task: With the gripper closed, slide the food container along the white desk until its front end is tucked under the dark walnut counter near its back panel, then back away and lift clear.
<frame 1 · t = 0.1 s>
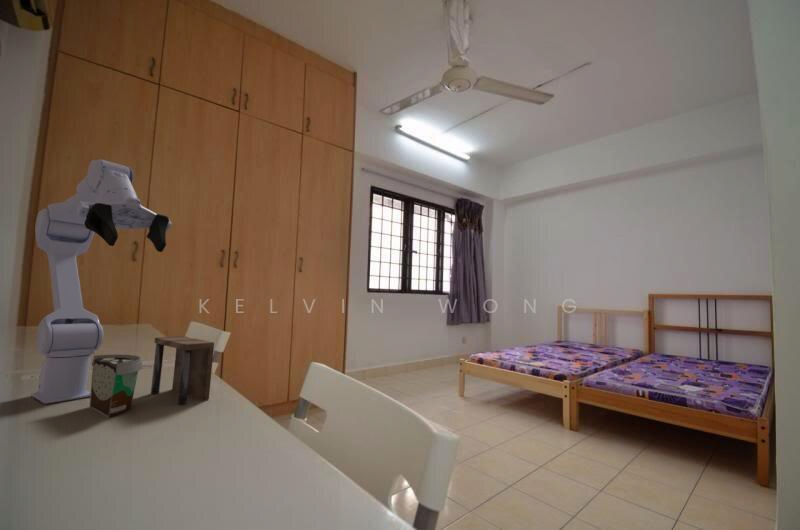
hand: (139, 244, 65), 32 cm above the table, tool tilted 50°, fingers open, 7 cm apart
food container: (117, 409, 72), on the table
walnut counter: (176, 396, 81), on the table
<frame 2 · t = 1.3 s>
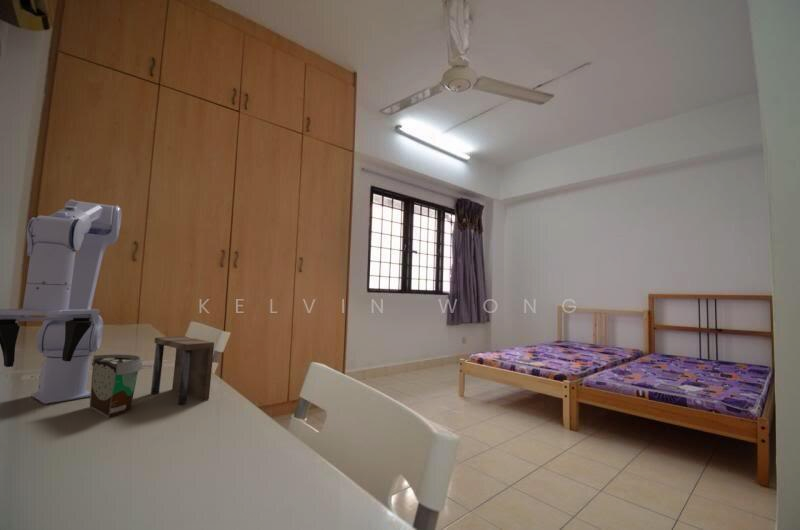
hand: (38, 363, 62), 10 cm above the table, tool pointing down, fingers open, 7 cm apart
nothing on the table moved.
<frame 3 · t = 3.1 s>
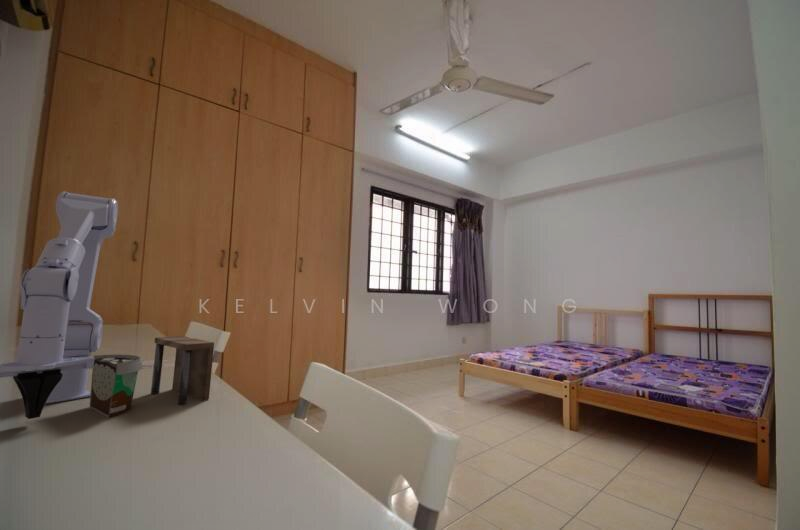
hand: (32, 416, 62), 1 cm above the table, tool pointing down, fingers closed
nothing on the table moved.
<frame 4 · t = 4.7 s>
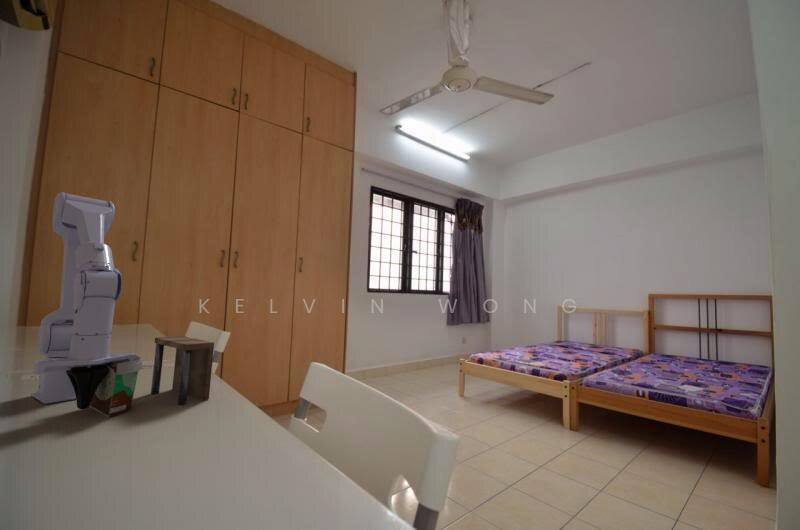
hand: (83, 407, 67), 1 cm above the table, tool pointing down, fingers closed
food container: (117, 409, 72), on the table, touching gripper
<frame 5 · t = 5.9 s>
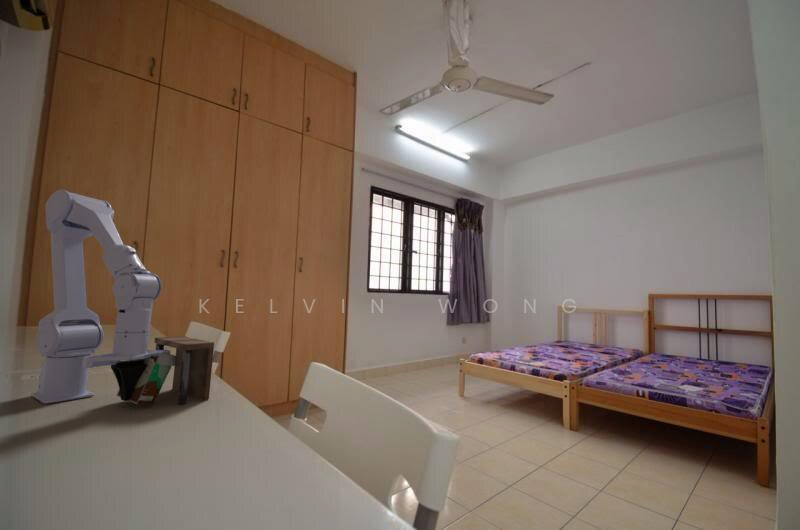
hand: (124, 399, 73), 1 cm above the table, tool pointing down, fingers closed, pressing on food container
food container: (142, 402, 75), on the table, touching gripper
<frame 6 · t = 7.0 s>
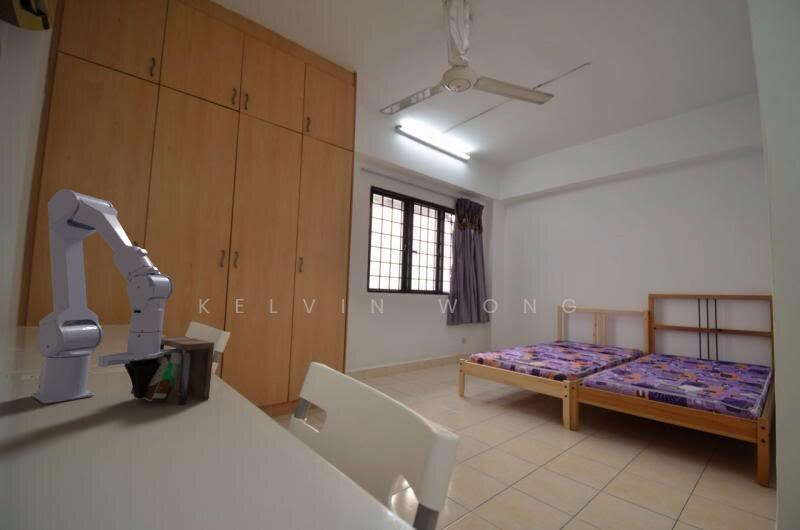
hand: (138, 397, 75), 1 cm above the table, tool pointing down, fingers closed
food container: (155, 399, 77), on the table, touching gripper, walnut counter
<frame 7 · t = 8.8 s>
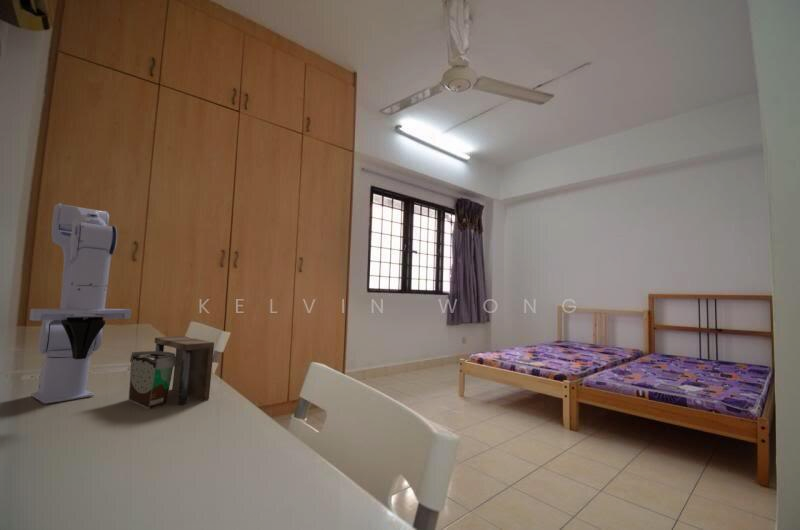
hand: (79, 358, 68), 10 cm above the table, tool pointing down, fingers closed
food container: (154, 402, 77), on the table
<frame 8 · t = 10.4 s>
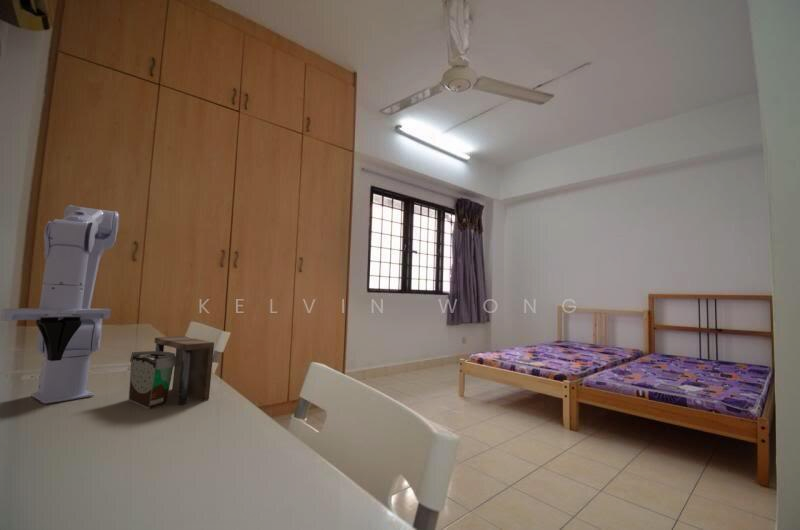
hand: (54, 360, 65), 10 cm above the table, tool pointing down, fingers closed
nothing on the table moved.
at the end: food container 0.1 cm from the target spot on the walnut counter, point 0.0 cm above the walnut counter's base; food container tilted 0°; the gripper is holding nothing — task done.
